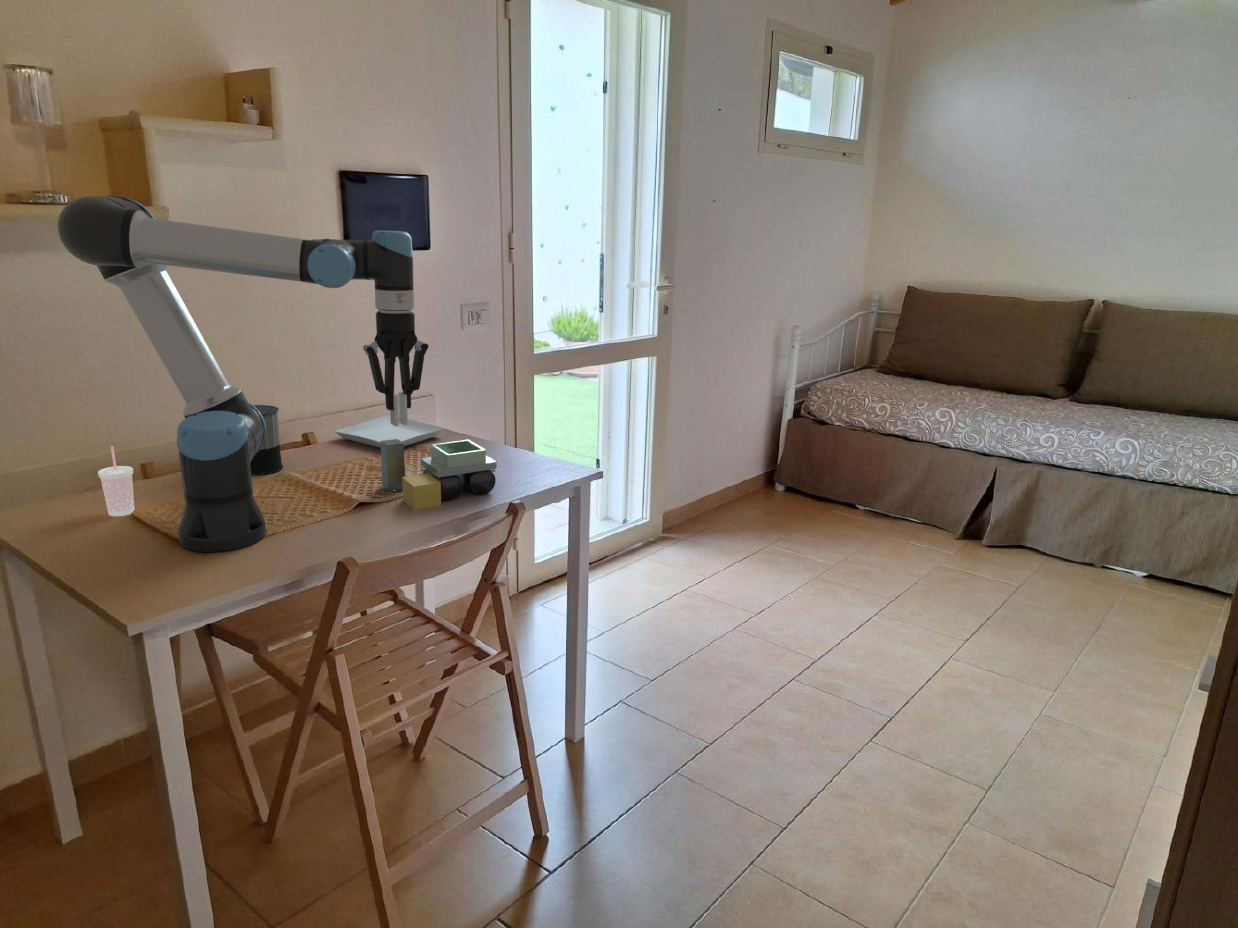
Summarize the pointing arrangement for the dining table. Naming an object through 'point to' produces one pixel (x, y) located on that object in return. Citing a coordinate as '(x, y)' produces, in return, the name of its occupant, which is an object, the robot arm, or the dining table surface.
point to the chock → (421, 491)
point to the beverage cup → (118, 488)
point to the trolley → (460, 468)
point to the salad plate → (389, 431)
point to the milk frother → (268, 444)
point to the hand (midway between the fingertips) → (399, 424)
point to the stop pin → (392, 464)
